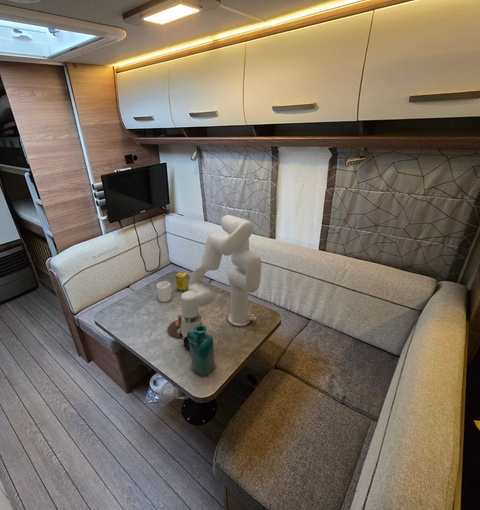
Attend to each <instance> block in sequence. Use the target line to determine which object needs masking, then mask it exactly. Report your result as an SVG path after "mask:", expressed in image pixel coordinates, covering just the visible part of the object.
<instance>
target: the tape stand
mask: <svg viewBox="0 0 480 510" xmlns="http://www.w3.org/2000/svg"><path fill="white" fill-rule="evenodd" d="M182 317H183V315H182V314H179V315H177V320H174V321H172V322H171V323H170V324H169V326H168V328H167V330H168V331H167V332H168V334H169V335H170V336H171V337H173V338H176V339H182V337H181V336H180V335H179V334H178V333H177V330H178V329H179V328H181V321H182Z"/></svg>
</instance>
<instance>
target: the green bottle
mask: <svg viewBox="0 0 480 510" xmlns="http://www.w3.org/2000/svg"><path fill="white" fill-rule="evenodd" d="M207 329H208V328H207V327H206V326H205V325H204V324H203V325H198V326H196V327H195V328H194V332H190V331H189V332H188V333H187V337H188V340H189V344H190V351H189V352H190V361H191V368H192V370H193V371H194V372H195V373H197V374H198V375H201V376H203V377H204V376H207V375H209V373H210V372H211V371H212V370H214V368H215V366H216V363H215V362H216V361H215V349H214V348H215V346H214V345H215V344H214V337H213V336H212V335H211V334H209V333H207Z"/></svg>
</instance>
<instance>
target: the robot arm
mask: <svg viewBox="0 0 480 510" xmlns="http://www.w3.org/2000/svg"><path fill="white" fill-rule="evenodd" d="M220 226H221V228H222V230H223V231H224V232H225V233H226V234H225V233H222V232H218V231H213V232H210V233H209V234H208V236H207V238H206V242H205V245H204V251H203V254H202V258H201V261H200V264H199V265H197V266H196V267H195V269H194V270H193V271H192V273H191V274H190V278H189V280H188V288H187V290H186V291H183V293H181V295H180V304H181V305H180V306H181V313H182V314H181V315H182V321H181V328H179V329H178V330H177V333H178V334H179V335H180V336H181V337H182V338H181V339H182V340H183V346H184V347H186V338H187V333H188V332H189V331H190V332H194V328H195V327H196V326H198V325H204V324H203V321H202V318H203V317H202V315H201V314H200V312H199V307H203V306H207V305H211V304H212V303H213V302H214V300H215V298H216V295H215V293H214V291H213V290H212V289H211V288H209V287H207V286H205V285H204V284H203V279H204V276H205V275H206V273H207V272H209V271H217V270H218V269H219V268H220V266H221V262H222V257H223V256H231V258H230V260H231V263H232V265H233V267H232V268H231V269H229V271H228V273H227V281H228V285H229V294H230V295H229V296H230V298H229V301H230V313H229V314H228V316H227V321H228V322H229V323H230V324H231V325H233V326H235V327H244V326H248V324H250V323H251V321H254V322H255V321H257V317H256V315H255V314H252V313H250V312H251V311H250V310H249V293H250V294H253V293H255V292H256V291H257V290H258V289H259V288H260V285H261V279H262V265H263V264H262V259H261V257H260V255H259V254H257V253H255V252H253V251H251V250H250V237H251V236H252V234H253V232H254V225H253V223H252V222H251V221H249V220H248V219H245V218H242V217H238V216H235V215H231V214H226V215H224V216H223V217H221V219H220ZM227 234H228V235H227Z"/></svg>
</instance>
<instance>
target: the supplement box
mask: <svg viewBox="0 0 480 510" xmlns="http://www.w3.org/2000/svg"><path fill="white" fill-rule="evenodd" d="M188 275H189V274H188V272H181V271H179V272H177V274H175V285H176V291H180V292H186V291H188V285H189V278H188V277H189V276H188Z"/></svg>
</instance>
